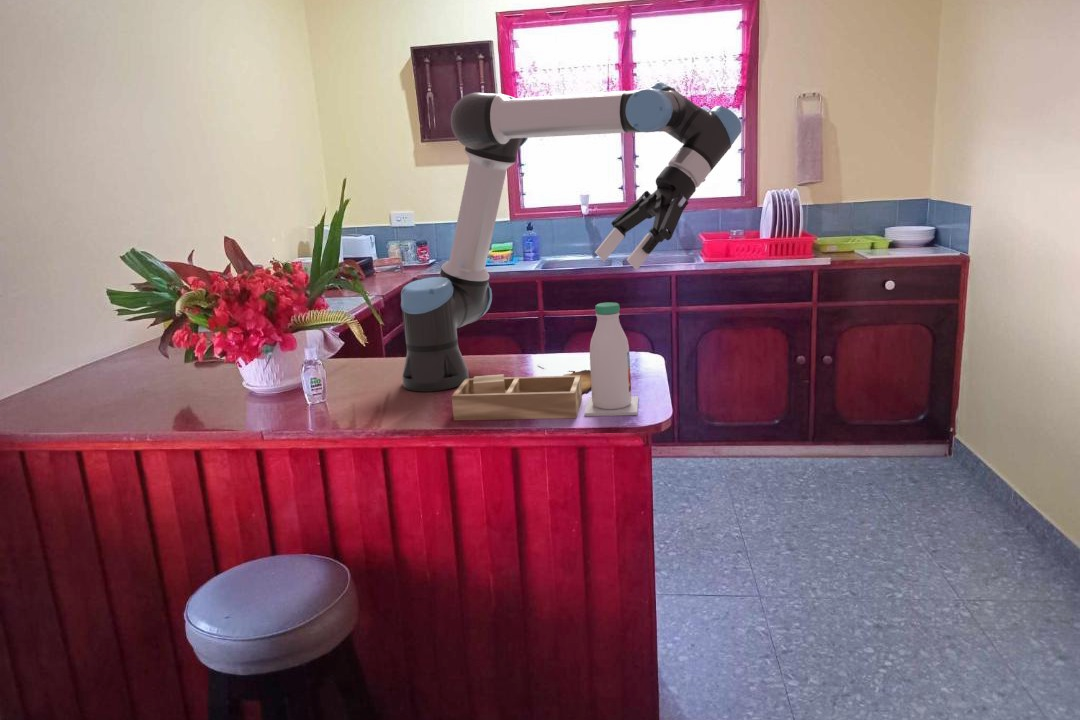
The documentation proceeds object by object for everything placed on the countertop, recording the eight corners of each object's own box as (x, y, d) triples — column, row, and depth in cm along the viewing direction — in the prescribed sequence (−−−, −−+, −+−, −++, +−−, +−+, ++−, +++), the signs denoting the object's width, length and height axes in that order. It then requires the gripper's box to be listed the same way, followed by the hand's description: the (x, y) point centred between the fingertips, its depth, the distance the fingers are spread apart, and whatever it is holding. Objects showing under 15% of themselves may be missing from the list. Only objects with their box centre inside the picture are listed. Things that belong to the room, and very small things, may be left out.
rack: (468, 401, 165) (465, 378, 164) (581, 398, 161) (580, 375, 160) (454, 420, 154) (451, 396, 152) (576, 418, 150) (574, 392, 149)
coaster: (588, 400, 160) (588, 397, 160) (638, 398, 159) (638, 396, 158) (584, 416, 151) (584, 413, 150) (637, 415, 149) (637, 412, 149)
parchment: (568, 371, 183) (568, 367, 183) (609, 371, 180) (608, 368, 180) (530, 406, 161) (530, 402, 161) (576, 407, 158) (575, 403, 157)
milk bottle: (626, 411, 150) (622, 308, 145) (587, 409, 152) (582, 308, 147) (635, 398, 157) (631, 300, 152) (598, 397, 159) (593, 300, 154)
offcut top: (475, 393, 160) (473, 376, 159) (505, 390, 160) (503, 374, 159) (474, 400, 155) (473, 383, 154) (505, 397, 155) (503, 380, 154)
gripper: (730, 192, 145) (659, 281, 143) (661, 188, 167) (599, 265, 166) (706, 164, 141) (633, 255, 140) (638, 163, 164) (575, 242, 163)
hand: (614, 260), depth 153 cm, fingers open, 13 cm apart
